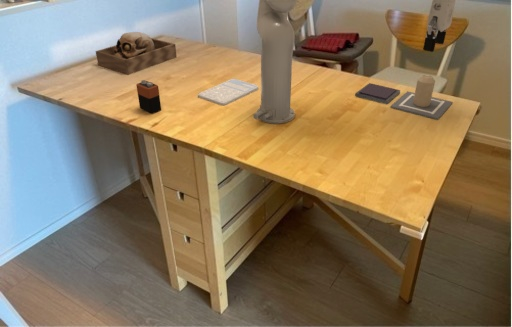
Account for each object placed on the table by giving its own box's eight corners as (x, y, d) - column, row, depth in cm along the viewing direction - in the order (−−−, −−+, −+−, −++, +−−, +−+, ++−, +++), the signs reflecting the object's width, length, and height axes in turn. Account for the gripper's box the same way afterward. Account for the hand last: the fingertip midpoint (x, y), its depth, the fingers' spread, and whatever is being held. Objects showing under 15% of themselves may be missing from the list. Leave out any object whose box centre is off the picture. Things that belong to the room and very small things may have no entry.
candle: (427, 100, 151) (433, 73, 145) (431, 107, 146) (438, 79, 141) (411, 100, 151) (417, 72, 146) (414, 106, 146) (420, 78, 141)
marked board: (437, 120, 139) (438, 117, 139) (390, 107, 148) (390, 105, 147) (452, 103, 150) (452, 101, 150) (407, 92, 158) (407, 90, 158)
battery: (151, 114, 144) (147, 86, 139) (139, 109, 148) (134, 81, 143) (162, 110, 147) (158, 82, 142) (149, 105, 151) (145, 77, 146)
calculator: (196, 98, 157) (196, 93, 156) (233, 81, 170) (233, 77, 169) (223, 107, 150) (223, 102, 149) (259, 89, 163) (259, 85, 162)
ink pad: (386, 104, 150) (387, 100, 149) (354, 96, 156) (355, 92, 155) (399, 93, 158) (400, 89, 157) (369, 86, 164) (369, 82, 163)
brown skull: (109, 68, 182) (105, 35, 176) (123, 59, 198) (120, 28, 192) (147, 70, 181) (144, 37, 175) (158, 61, 197) (156, 30, 191)
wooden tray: (128, 74, 176) (126, 60, 173) (98, 65, 186) (95, 51, 183) (176, 57, 195) (175, 44, 191) (146, 49, 205) (144, 36, 202)
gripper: (449, -4, 121) (436, 56, 130) (466, -13, 133) (453, 42, 142) (423, -7, 125) (412, 51, 134) (441, -16, 137) (430, 38, 146)
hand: (433, 47), depth 138 cm, fingers open, 9 cm apart
